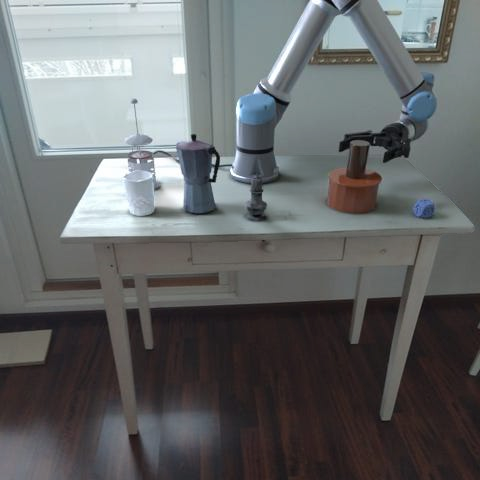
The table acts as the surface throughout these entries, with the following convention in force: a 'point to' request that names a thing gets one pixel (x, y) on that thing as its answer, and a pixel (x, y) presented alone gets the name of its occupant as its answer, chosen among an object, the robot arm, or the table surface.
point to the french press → (140, 153)
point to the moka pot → (197, 174)
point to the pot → (351, 198)
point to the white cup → (139, 192)
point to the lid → (356, 168)
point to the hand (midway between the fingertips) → (361, 152)
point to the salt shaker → (256, 200)
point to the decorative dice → (424, 208)
